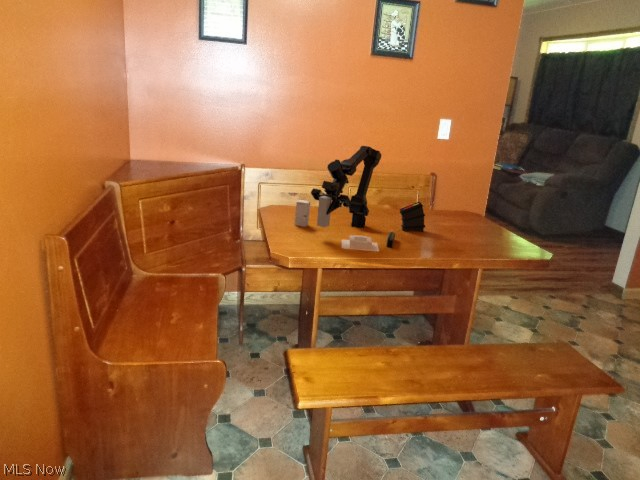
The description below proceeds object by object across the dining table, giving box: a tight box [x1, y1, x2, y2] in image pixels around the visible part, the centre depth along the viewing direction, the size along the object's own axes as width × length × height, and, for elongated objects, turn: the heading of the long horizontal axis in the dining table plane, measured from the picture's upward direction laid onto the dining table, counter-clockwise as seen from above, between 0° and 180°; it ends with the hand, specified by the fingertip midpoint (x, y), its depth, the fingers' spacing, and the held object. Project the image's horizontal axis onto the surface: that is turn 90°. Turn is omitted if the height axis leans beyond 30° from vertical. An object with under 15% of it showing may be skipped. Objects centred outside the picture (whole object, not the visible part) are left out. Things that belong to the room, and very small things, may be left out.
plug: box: [316, 196, 332, 228], centre depth 204 cm, size 4×4×13 cm
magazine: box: [399, 201, 426, 233], centre depth 234 cm, size 4×13×15 cm, turn 95°
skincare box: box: [294, 199, 311, 228], centre depth 227 cm, size 6×4×12 cm
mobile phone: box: [386, 231, 396, 249], centre depth 210 cm, size 5×3×15 cm
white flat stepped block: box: [341, 234, 380, 252], centre depth 203 cm, size 16×12×4 cm
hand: (322, 213), depth 204 cm, fingers closed on plug, 4 cm apart
